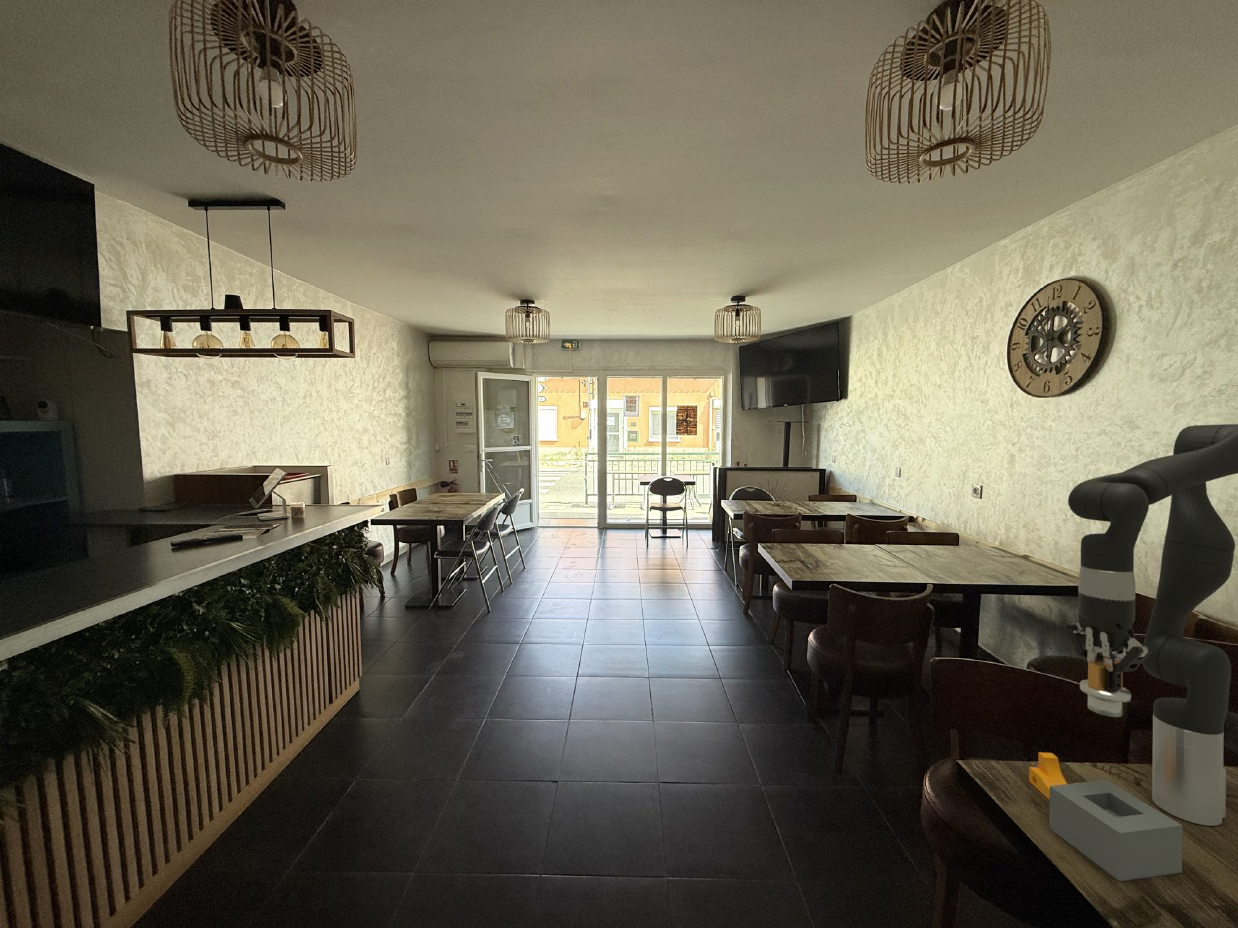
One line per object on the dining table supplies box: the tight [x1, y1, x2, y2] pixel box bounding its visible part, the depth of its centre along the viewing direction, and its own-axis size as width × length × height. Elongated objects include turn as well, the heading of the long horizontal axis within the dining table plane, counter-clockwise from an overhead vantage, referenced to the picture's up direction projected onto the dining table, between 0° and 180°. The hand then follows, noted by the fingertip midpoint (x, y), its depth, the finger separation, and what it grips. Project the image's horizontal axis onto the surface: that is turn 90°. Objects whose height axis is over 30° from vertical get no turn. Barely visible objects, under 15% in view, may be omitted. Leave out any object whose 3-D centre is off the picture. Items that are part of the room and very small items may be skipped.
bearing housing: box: [1048, 779, 1184, 882], centre depth 91 cm, size 12×12×8 cm
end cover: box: [1079, 660, 1132, 718], centre depth 95 cm, size 7×7×9 cm
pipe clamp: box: [1028, 751, 1068, 800], centre depth 104 cm, size 12×4×6 cm, turn 174°
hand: (1105, 687), depth 95 cm, fingers closed on end cover
